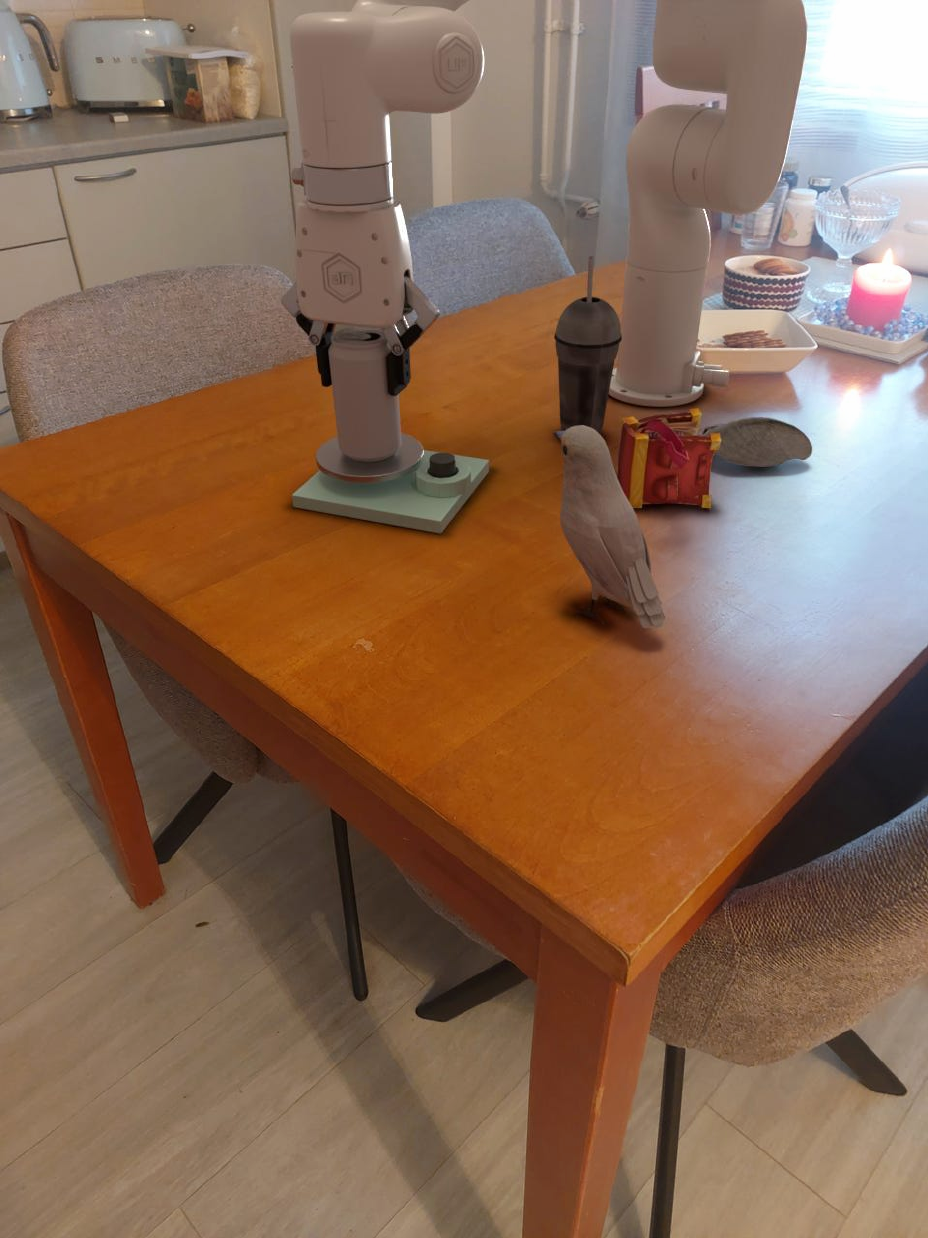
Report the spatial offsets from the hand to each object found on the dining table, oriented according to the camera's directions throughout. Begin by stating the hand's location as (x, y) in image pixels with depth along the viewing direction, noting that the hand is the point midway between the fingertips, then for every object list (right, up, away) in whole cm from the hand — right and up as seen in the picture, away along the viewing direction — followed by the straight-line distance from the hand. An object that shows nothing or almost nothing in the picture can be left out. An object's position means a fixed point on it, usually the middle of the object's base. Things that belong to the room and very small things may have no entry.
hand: (364, 384), depth 87 cm
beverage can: (0, -6, +4) cm, 7 cm away
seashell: (+41, -6, +10) cm, 43 cm away
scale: (+2, -9, +6) cm, 11 cm away
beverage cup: (+23, -2, +16) cm, 28 cm away
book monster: (+29, -12, +2) cm, 32 cm away
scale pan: (0, -6, +5) cm, 8 cm away
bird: (+21, -22, -12) cm, 33 cm away
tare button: (+8, -8, +2) cm, 11 cm away
